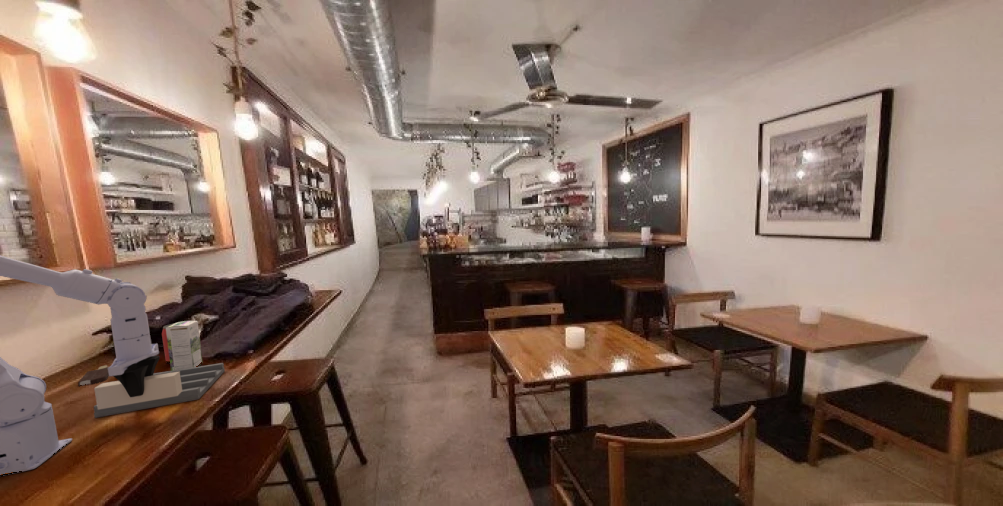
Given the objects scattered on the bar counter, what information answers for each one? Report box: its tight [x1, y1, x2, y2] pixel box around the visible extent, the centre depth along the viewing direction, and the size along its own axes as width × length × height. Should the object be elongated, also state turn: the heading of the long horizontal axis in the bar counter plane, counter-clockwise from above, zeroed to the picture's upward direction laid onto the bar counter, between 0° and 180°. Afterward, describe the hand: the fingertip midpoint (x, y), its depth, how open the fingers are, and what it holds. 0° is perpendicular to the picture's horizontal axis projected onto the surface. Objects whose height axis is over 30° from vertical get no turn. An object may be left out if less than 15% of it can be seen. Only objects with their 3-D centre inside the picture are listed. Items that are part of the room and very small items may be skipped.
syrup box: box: [166, 320, 203, 371], centre depth 110 cm, size 6×6×14 cm
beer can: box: [161, 322, 176, 362], centre depth 117 cm, size 7×7×12 cm
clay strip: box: [93, 371, 182, 410], centre depth 81 cm, size 14×2×5 cm, turn 111°
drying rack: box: [93, 362, 226, 419], centre depth 95 cm, size 18×20×3 cm
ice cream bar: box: [77, 364, 110, 387], centre depth 107 cm, size 5×2×15 cm
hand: (140, 392), depth 81 cm, fingers closed on clay strip, 2 cm apart
